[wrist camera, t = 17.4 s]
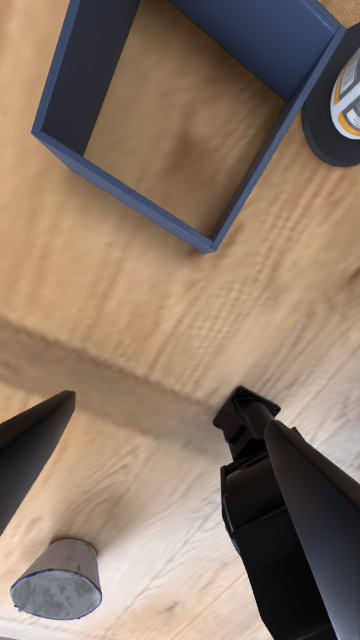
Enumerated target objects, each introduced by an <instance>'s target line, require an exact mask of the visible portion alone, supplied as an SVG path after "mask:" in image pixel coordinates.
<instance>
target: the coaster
mask: <svg viewBox="0 0 360 640" xmlns="http://www.w3.org/2000/svg"><path fill="white" fill-rule="evenodd" d="M359 47H360V23H358V24H355V25H353V26H352V27H350V28H348V29H347V31H346V33H345V35H344V36H343V38H342V40H341V41H340V43H339V45H338V46H337V48H336V50H335V51H334V53H333V55H332V56H331V58H330V60H329V62H328V63H327V65H326V67H325V68H324V70H323V72H322V73H321V75H320V77H319V78H318V80H317V82H316V83H315V85H314V87H313V88H312V90H311V92H310V93H309V95H308V97H307V99H306V100H305V102H304V104H303V107H302V121H303V129H304V133H305V136H306V139H307V142H308V144H309V146H310V147H311V149H312V150H313V152H314V153H315V154H316V155H317V156H318V157H319V158H320V159H322V160H323V161H324V162H326V163H329V164H331V165H335V166H342V167H343V166H352V165H356V164H359V163H360V139H351V138H348V137H346V136H344V135H342V134H341V133H340V132H339V131H338V130H337V128H336V127H335V125H334V123H333V120H332V116H331V106H330V104H331V97H332V92H333V88H334V85H335V83H336V80H337V78H338V76H339V74H340V72H341V70H342V69H343V68H344V66H345V65H346V63H347V62H348V61H349V60H350V58H351V57H352V56H353V55H354V53H355V52H356V51H357V50H358V48H359Z"/></svg>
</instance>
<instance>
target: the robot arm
mask: <svg viewBox="0 0 360 640" xmlns="http://www.w3.org/2000/svg"><path fill="white" fill-rule="evenodd" d="M241 390H242V391H241ZM240 391H241V392H240ZM75 398H76V393H75V392H74V391H69V390H65V391H63V392H61V393H59V394H57V395H55V396H53V397H51V398H49V399H47V400H45V401H43V402H41V403H39V404H37V405H36V406H34V407H32V408H30V409H28V410H26V411H24V412H22V413H20V414H18V415H16V416H14V417H12V418H11V419H9V420H7V421H5V422H3V423H1V424H0V536H1V535H2V533H3V532H4V530H5V528H6V527H7V525H8V524H9V522H10V520H11V519H12V517H13V516H14V514H15V512H16V511H17V509H18V508H19V506H20V504H21V503H22V501H23V500H24V498H25V496H26V495H27V493H28V492H29V490H30V488H31V487H32V485H33V484H34V482H35V480H36V479H37V477H38V476H39V474H40V472H41V471H42V469H43V468H44V466H45V464H46V463H47V461H48V460H49V458H50V456H51V455H52V453H53V451H54V450H55V448H56V446H57V444H58V442H59V440H60V438H61V436H62V434H63V432H64V430H65V428H66V426H67V424H68V422H69V420H70V418H71V416H72V414H73V412H74V409H75ZM276 408H277V409H276ZM280 411H281V408H280V406H279V405H278V404H276V403H274V402H272V401H270V400H268V399H266V398H264V397H262V396H260V395H258V394H256V393H254V392H252V391H250V390H248V389H246V388H244V387H242V386H240V387H238V388H237V389H236V391H235V392H234V393H233V395H232V396H231V397H230V398H229V399H228V400H227V402H226V403H225V404H224V406H223V407H222V408H221V410H220V411H219V412H218V414H217V415H216V417H215V418H214V419H213V425H214V426H215V427H217V428H219V429H222V430H223V434H224V437H225V441H226V443H228V445H229V448H230V451H231V455H232V458H233V461H234V462H232V463H230V464H228V465H224V466H222V467H220V474H221V503H222V518H223V521H224V523H225V528H226V531H227V533H228V534H229V536H230V539H231V541H232V543H233V545H234V547H235V549H236V551H237V552H238V554H239V555H240V556H241V558H242V561H243V564H244V566H245V569H246V571H247V575H248V578H249V581H250V584H251V587H252V590H253V594H254V597H255V600H256V603H257V607H258V610H259V613H260V616H261V619H262V621H263V623H264V624H265V626H266V627H267V629H268V631H269V632H270V634H271V635H272V637H273V639H274V640H360V484H359V483H358V482H356V481H355V480H354V479H353V478H351V477H350V476H349V475H348V474H346V473H345V472H344V471H343V470H341V469H340V468H339V467H337V466H336V465H335V464H334V463H332V462H331V461H330V460H329V459H327V458H326V457H325V456H324V455H322V454H321V453H320V452H318V451H317V450H316V449H315V448H313V447H312V446H311V445H310V444H308V443H307V442H306V441H305V440H304V438H303V437H302V436H301V434H300V433H299V432H298V430H297V429H296V427H295V426H294V427H293V428H291V429H289V428H288V427H287V426H286V425H284V424H283V423H282V422H281V421H279V420H275V417H276V415H277V414H278V413H279V412H280ZM216 422H217V423H216Z"/></svg>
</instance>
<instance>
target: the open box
mask: <svg viewBox="0 0 360 640" xmlns="http://www.w3.org/2000/svg"><path fill="white" fill-rule="evenodd" d="M169 1H170V2H171V3H172V4H173V5H174V6H175V7H177V8H178V9H179V10H180V11H181V12H182V13H184V14H185V15H186V16H187V17H188V18H189V19H191V20H192V21H193V22H194V23H195V24H196V25H198V26H199V27H200V28H201V29H202V30H203V31H205V32H206V33H207V34H208V35H209V36H210V37H212V38H213V39H214V40H215V41H216V42H217V43H219V44H220V45H221V46H222V47H223V48H224V49H226V50H227V51H228V52H229V53H230V54H231V55H232V56H234V57H235V58H236V59H237V60H238V61H239V62H241V63H242V64H243V65H244V66H245V67H246V68H248V69H249V70H250V71H251V72H252V73H253V74H255V75H256V76H257V77H258V78H259V79H260V80H262V81H263V82H264V83H265V84H266V85H267V86H269V87H270V88H271V89H272V90H273V91H274V92H276V93H277V94H278V95H279V96H280V97H281V98H282V99H284V100H285V101H286V102H287V103H286V105H285V107H284V109H283V110H282V112H281V114H280V116H279V117H278V119H277V121H276V123H275V124H274V126H273V128H272V130H271V131H270V133H269V135H268V137H267V138H266V140H265V142H264V143H263V145H262V147H261V149H260V150H259V152H258V154H257V156H256V157H255V159H254V161H253V163H252V164H251V166H250V168H249V170H248V171H247V173H246V175H245V177H244V178H243V180H242V182H241V183H240V185H239V187H238V189H237V190H236V192H235V194H234V196H233V197H232V199H231V201H230V203H229V204H228V206H227V208H226V210H225V211H224V213H223V215H222V217H221V218H220V220H219V222H218V223H217V225H216V227H215V229H214V230H213V232H212V234H211V236H210V237H209V239H208V238H207V237H205V236H204V235H202V234H201V233H199V232H198V231H196V230H195V229H193V228H191V227H190V226H188V225H187V224H185V223H184V222H182V221H181V220H179V219H178V218H176V217H175V216H173V215H171V214H170V213H168V212H167V211H165V210H164V209H162V208H161V207H159V206H158V205H156V204H154V203H153V202H151V201H150V200H148V199H147V198H145V197H144V196H142V195H141V194H139V193H137V192H136V191H134V190H133V189H131V188H130V187H128V186H127V185H125V184H124V183H122V182H121V181H119V180H117V179H116V178H114V177H113V176H111V175H110V174H108V173H107V172H105V171H104V170H102V169H100V168H99V167H97V166H96V165H94V164H93V163H91V162H90V161H88V160H87V159H85V158H83V154H84V152H85V149H86V146H87V143H88V141H89V138H90V135H91V133H92V130H93V127H94V124H95V122H96V119H97V116H98V114H99V111H100V108H101V105H102V103H103V100H104V97H105V94H106V92H107V89H108V86H109V84H110V81H111V78H112V75H113V73H114V70H115V67H116V65H117V62H118V59H119V56H120V54H121V51H122V48H123V46H124V43H125V40H126V37H127V35H128V32H129V29H130V27H131V24H132V21H133V18H134V16H135V13H136V10H137V8H138V5H139V2H140V0H70V3H69V6H68V9H67V13H66V16H65V20H64V23H63V26H62V30H61V33H60V36H59V40H58V43H57V46H56V50H55V53H54V57H53V60H52V63H51V67H50V70H49V73H48V77H47V80H46V83H45V87H44V90H43V94H42V97H41V100H40V104H39V107H38V110H37V114H36V117H35V120H34V124H33V127H32V130H31V134H32V135H33V136H34V137H36V138H37V139H38V140H39V141H40V142H41V143H42V144H43V145H44V146H46V147H47V148H48V149H49V150H50V151H51V152H52V153H53V154H54V155H56V156H57V157H58V158H59V159H60V160H61V161H62V162H63V163H64V164H65V165H67V166H68V167H69V168H70V169H71V170H72V171H74V172H75V173H77V174H79V175H80V176H82V177H83V178H85V179H87V180H88V181H90V182H91V183H93V184H95V185H96V186H98V187H99V188H101V189H102V190H104V191H106V192H107V193H109V194H110V195H112V196H114V197H115V198H117V199H118V200H120V201H122V202H123V203H125V204H126V205H128V206H129V207H131V208H133V209H134V210H136V211H137V212H139V213H141V214H142V215H144V216H145V217H147V218H149V219H150V220H152V221H153V222H155V223H156V224H158V225H160V226H161V227H163V228H164V229H166V230H168V231H169V232H171V233H172V234H174V235H176V236H177V237H179V238H180V239H182V240H183V241H185V242H187V243H188V244H190V245H191V246H193V247H195V248H196V249H198V250H199V251H202V252H203V253H204V254H208V253H211V252H215V251H216V250H217V248H218V247H219V245H220V243H221V242H222V240H223V238H224V237H225V235H226V233H227V232H228V230H229V228H230V226H231V225H232V223H233V221H234V220H235V218H236V216H237V215H238V213H239V211H240V210H241V208H242V206H243V205H244V203H245V201H246V200H247V198H248V196H249V194H250V193H251V191H252V189H253V188H254V186H255V184H256V183H257V181H258V179H259V178H260V176H261V174H262V173H263V171H264V169H265V168H266V166H267V164H268V163H269V161H270V159H271V157H272V156H273V154H274V152H275V151H276V149H277V147H278V146H279V144H280V142H281V141H282V139H283V137H284V136H285V134H286V132H287V131H288V129H289V127H290V125H291V124H292V122H293V120H294V119H295V117H296V115H297V114H298V112H299V110H300V109H301V107H302V105H303V104H304V102H305V100H306V99H307V97H308V95H309V93H310V92H311V90H312V88H313V87H314V85H315V83H316V82H317V80H318V78H319V77H320V75H321V73H322V72H323V70H324V68H325V67H326V65H327V63H328V62H329V60H330V58H331V56H332V55H333V53H334V51H335V50H336V48H337V46H338V45H339V43H340V41H341V40H342V38H343V36H344V35H345V33H346V31H347V29H346V28H345V27H344V26H343V25H342V24H341V25H340V22H339V21H338V20H337V19H336V18H335V17H334V16H333V15H332V14H331V13H330V12H329V11H328V10H327V9H326V8H325V7H324V6H323V5H322V4H321V3H320V2H319V1H318V0H169Z"/></svg>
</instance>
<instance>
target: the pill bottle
mask: <svg viewBox="0 0 360 640" xmlns="http://www.w3.org/2000/svg"><path fill="white" fill-rule="evenodd" d="M330 106H331V116H332V120H333V123H334V125H335V127H336V128H337V130H338V131H339V132H340V133H341V134H342V135H344V136H346V137H348V138H351V139H360V47H359V48H358V50H357V51H356V52H355V53H354V55H353V56H352V57H351V58H350V60H349V61H348V62H347V63H346V65H345V66H344V68H343V69H342V70H341V72H340V74H339V76H338V78H337V80H336V83H335V85H334V88H333V92H332V97H331V104H330Z"/></svg>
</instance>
